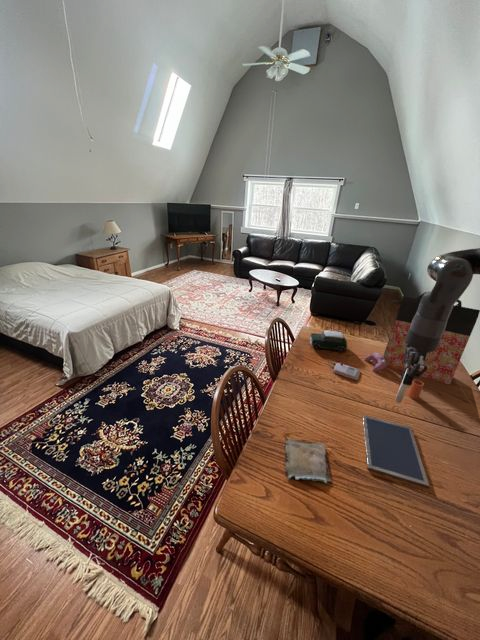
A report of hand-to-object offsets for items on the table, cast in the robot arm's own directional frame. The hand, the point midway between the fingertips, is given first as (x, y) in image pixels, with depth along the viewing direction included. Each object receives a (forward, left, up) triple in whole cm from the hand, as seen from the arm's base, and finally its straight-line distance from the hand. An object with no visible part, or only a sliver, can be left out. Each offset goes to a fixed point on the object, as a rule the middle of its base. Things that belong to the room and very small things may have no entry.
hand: (405, 381), depth 80 cm
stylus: (0, 0, -8) cm, 8 cm away
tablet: (0, +7, -20) cm, 21 cm away
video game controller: (0, -39, -20) cm, 44 cm away
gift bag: (-15, -44, -20) cm, 51 cm away
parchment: (+24, +21, -20) cm, 38 cm away
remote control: (+13, -29, -20) cm, 37 cm away
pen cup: (-12, -22, -20) cm, 32 cm away
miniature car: (+21, -49, -20) cm, 57 cm away
